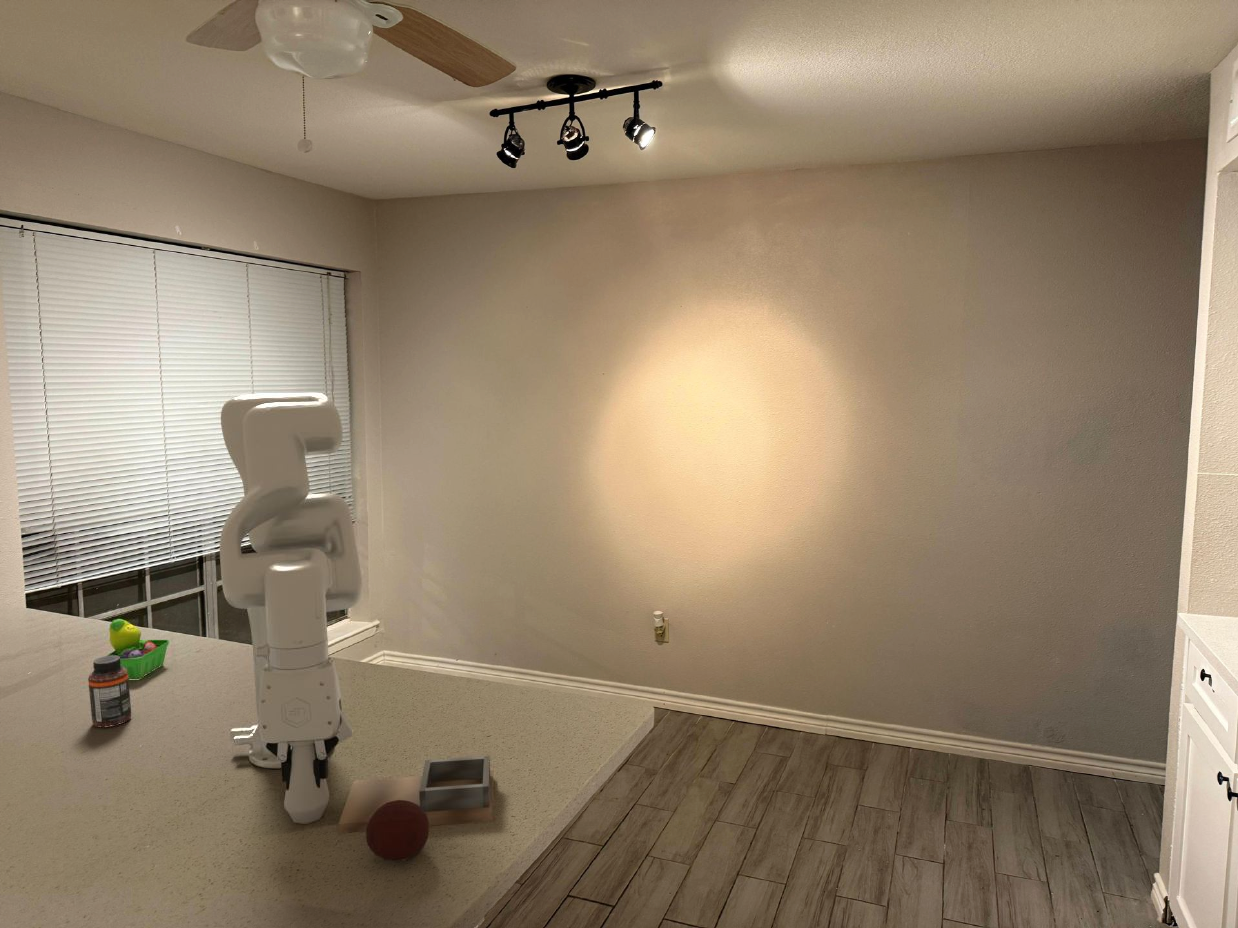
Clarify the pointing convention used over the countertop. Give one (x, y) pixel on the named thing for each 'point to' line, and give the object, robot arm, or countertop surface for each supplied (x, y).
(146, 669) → the fruit basket
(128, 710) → the supplement bottle
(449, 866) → the countertop surface
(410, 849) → the dark red ball
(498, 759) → the countertop surface
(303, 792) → the salt shaker
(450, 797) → the shaker caddy
